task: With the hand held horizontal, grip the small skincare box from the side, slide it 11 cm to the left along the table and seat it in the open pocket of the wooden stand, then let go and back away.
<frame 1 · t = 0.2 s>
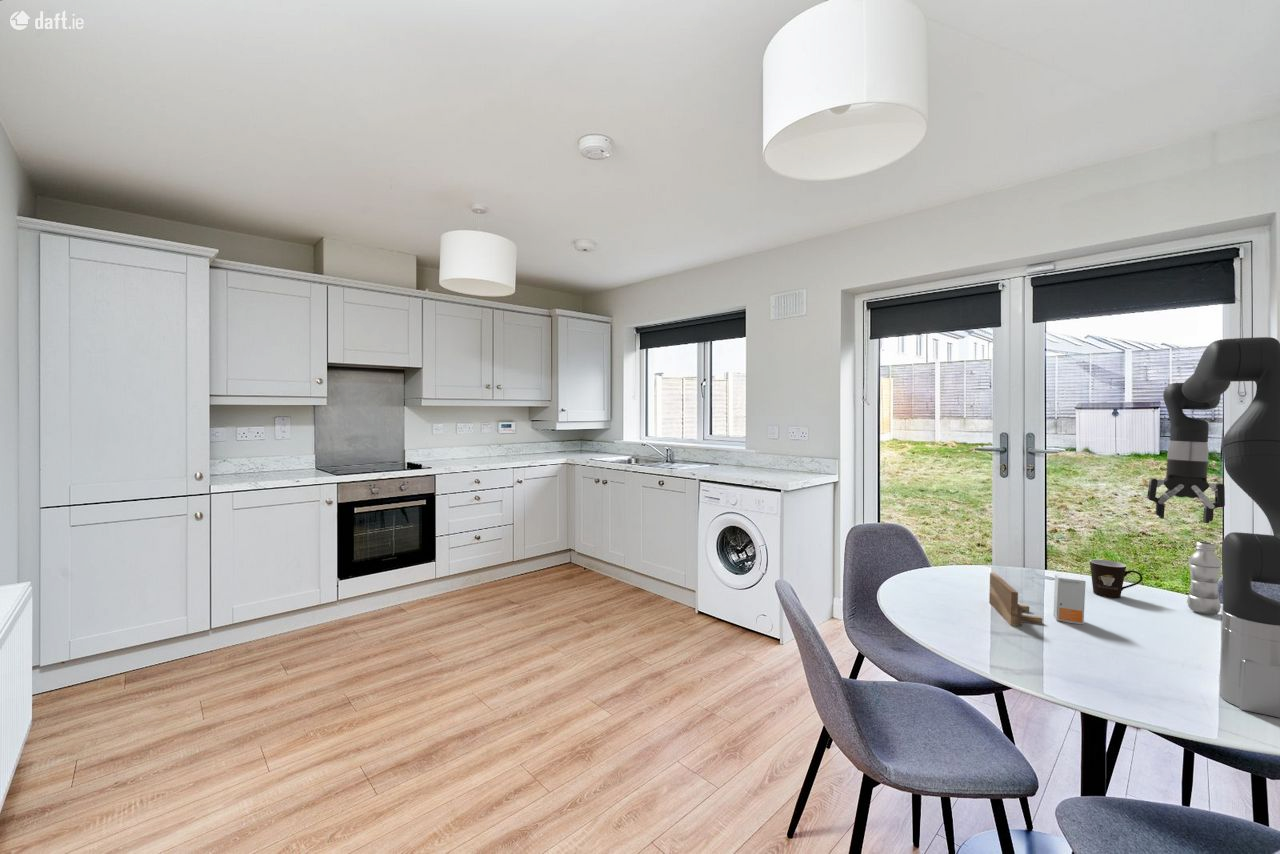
hand: (1183, 520, 143), 28 cm above the table, tool pointing down, fingers open, 8 cm apart
wooden stand: (1021, 615, 151), on the table
coffee mug: (1112, 597, 167), on the table
plastic bottle: (1203, 613, 154), on the table
skincare box: (1068, 621, 148), on the table
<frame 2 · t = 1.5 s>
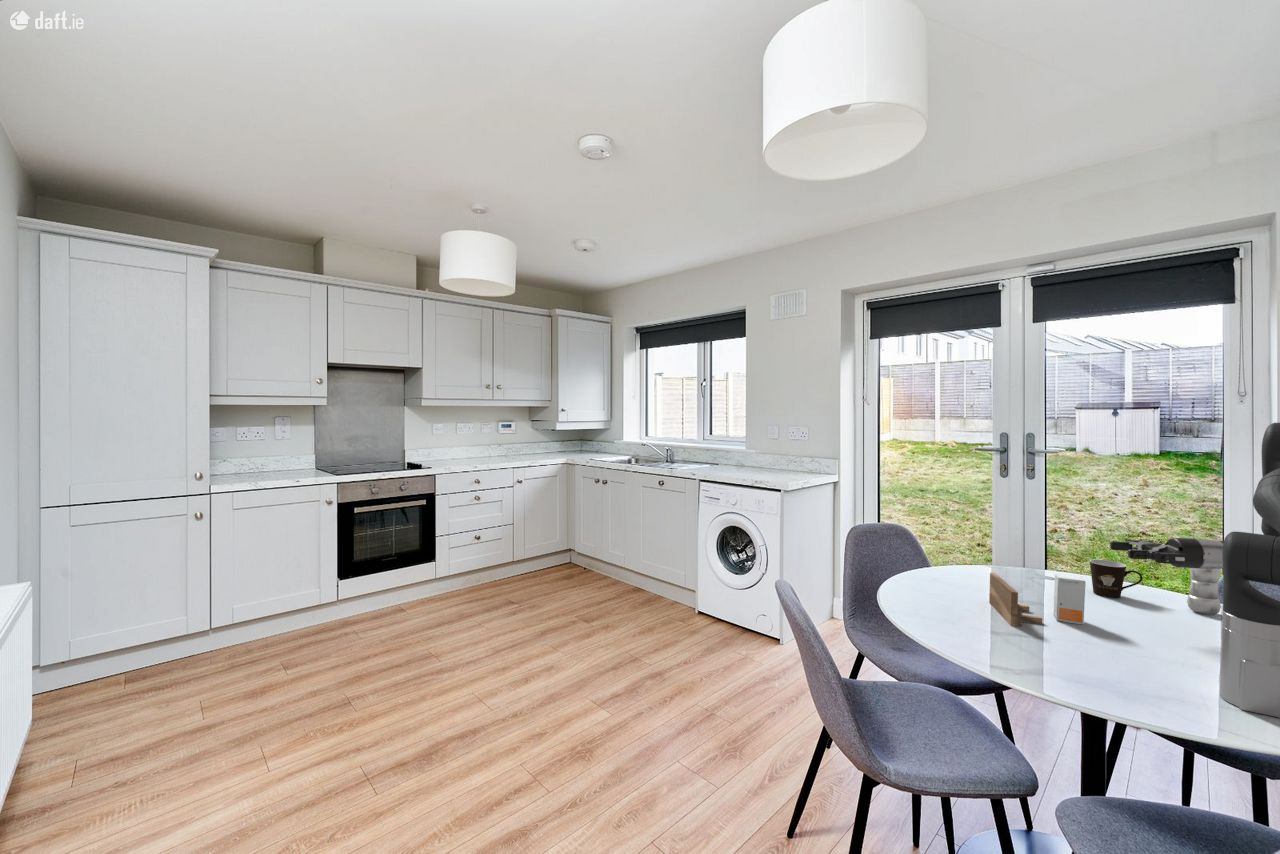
hand: (1119, 549, 144), 20 cm above the table, tool horizontal, fingers open, 8 cm apart
nothing on the table moved.
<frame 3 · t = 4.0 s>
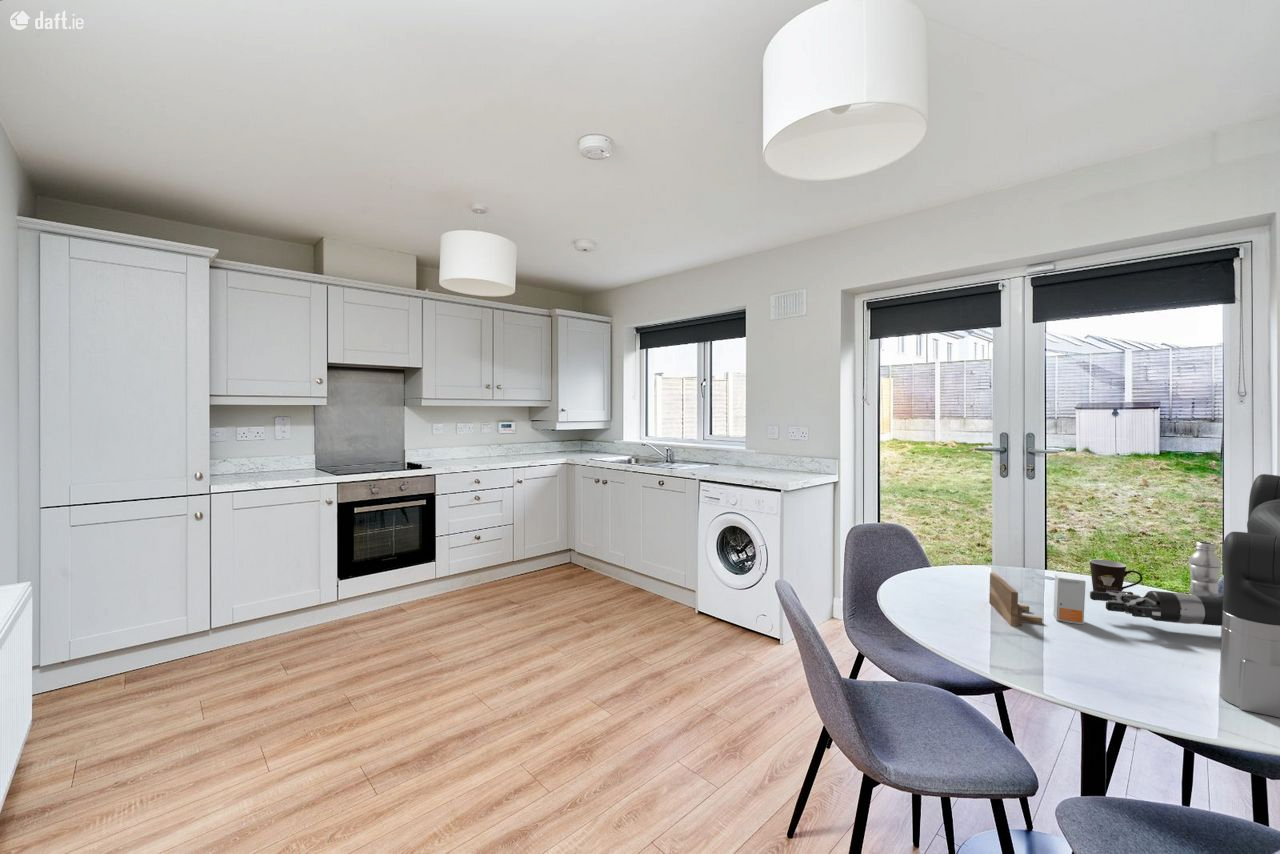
hand: (1098, 600, 146), 6 cm above the table, tool horizontal, fingers open, 8 cm apart
nothing on the table moved.
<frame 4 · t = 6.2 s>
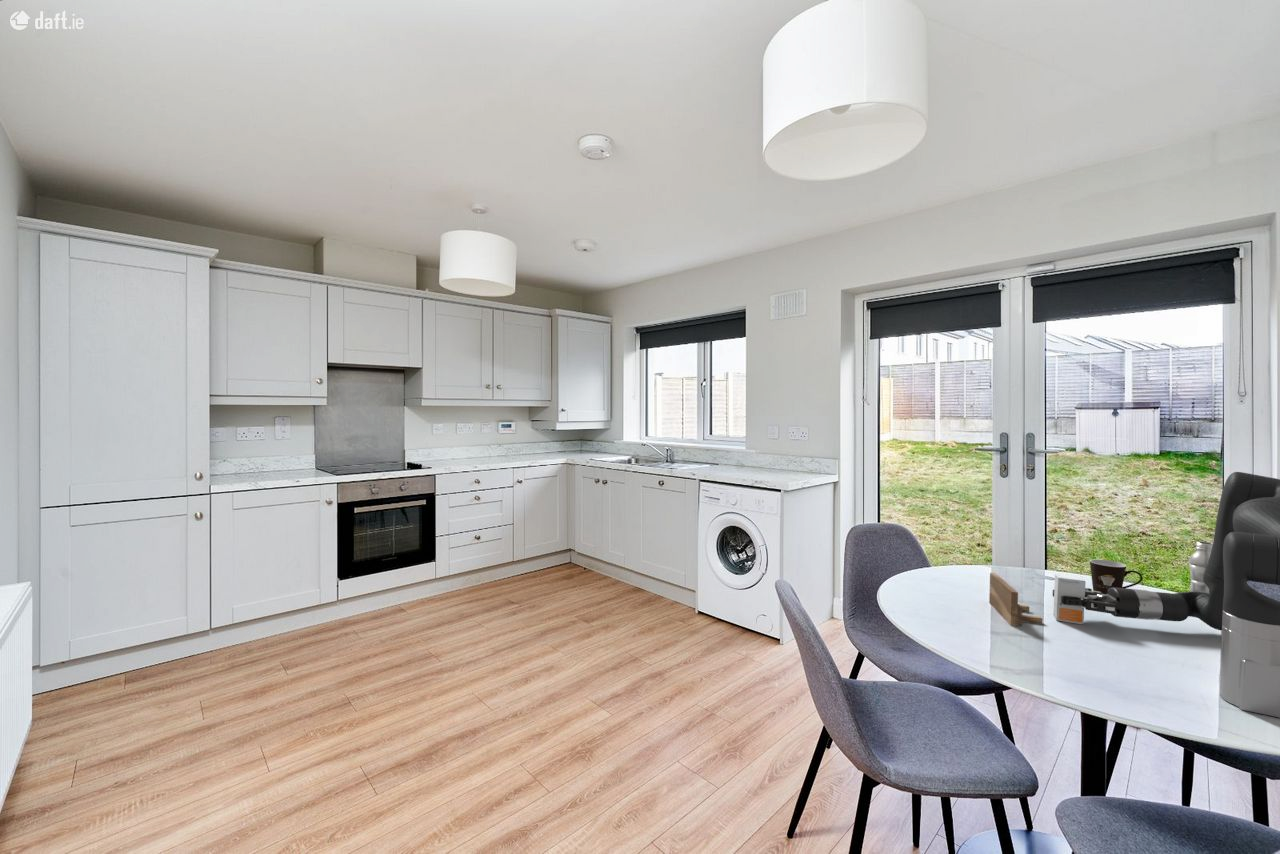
hand: (1057, 596, 148), 6 cm above the table, tool horizontal, fingers closed on skincare box, 5 cm apart
skincare box: (1068, 621, 148), on the table, touching gripper
everything else where it was.
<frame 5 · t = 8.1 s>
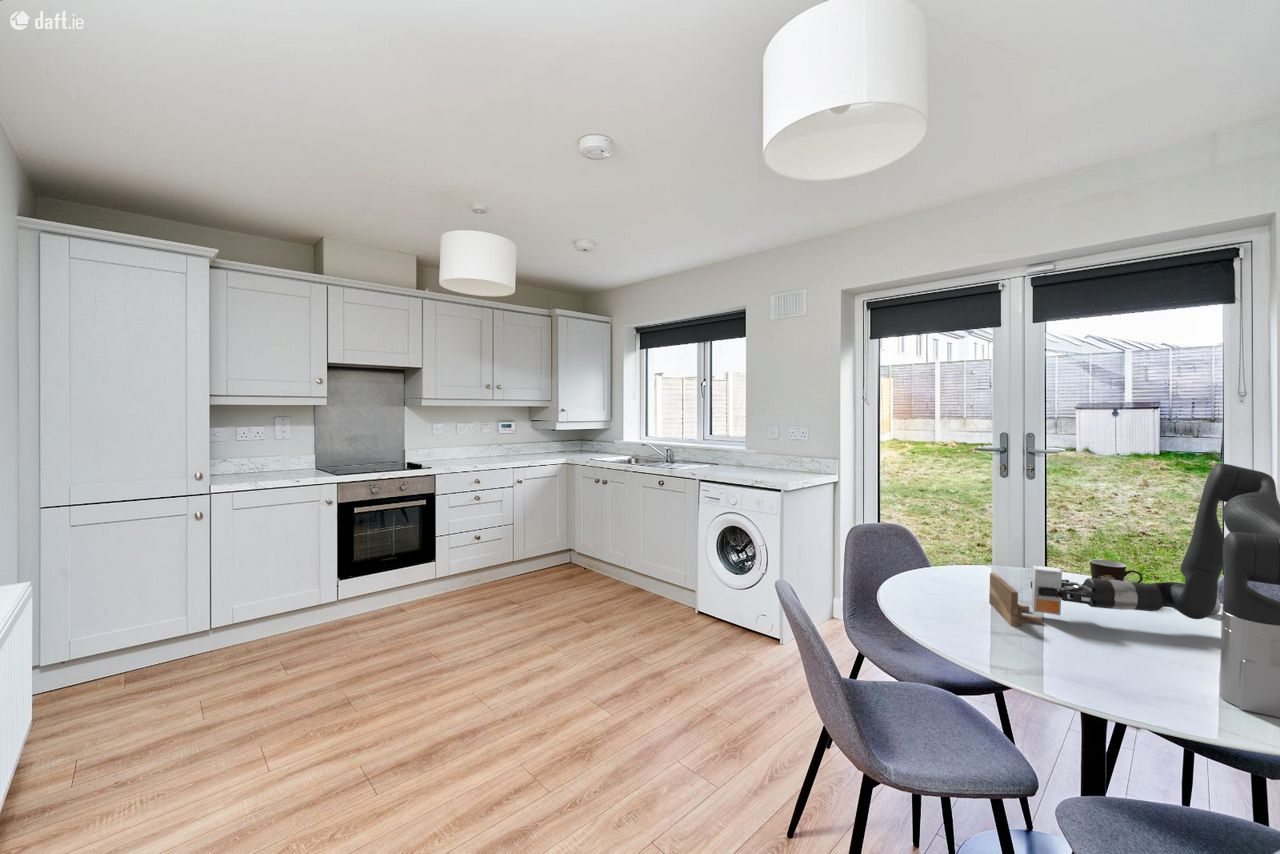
hand: (1035, 588, 150), 8 cm above the table, tool horizontal, fingers closed on skincare box, 5 cm apart
skincare box: (1046, 612, 149), point 2 cm above the table, touching gripper
everything else where it was.
when the fingers open (7 cm above the table, at t = 9.9 s): skincare box stays where it is, on the table.
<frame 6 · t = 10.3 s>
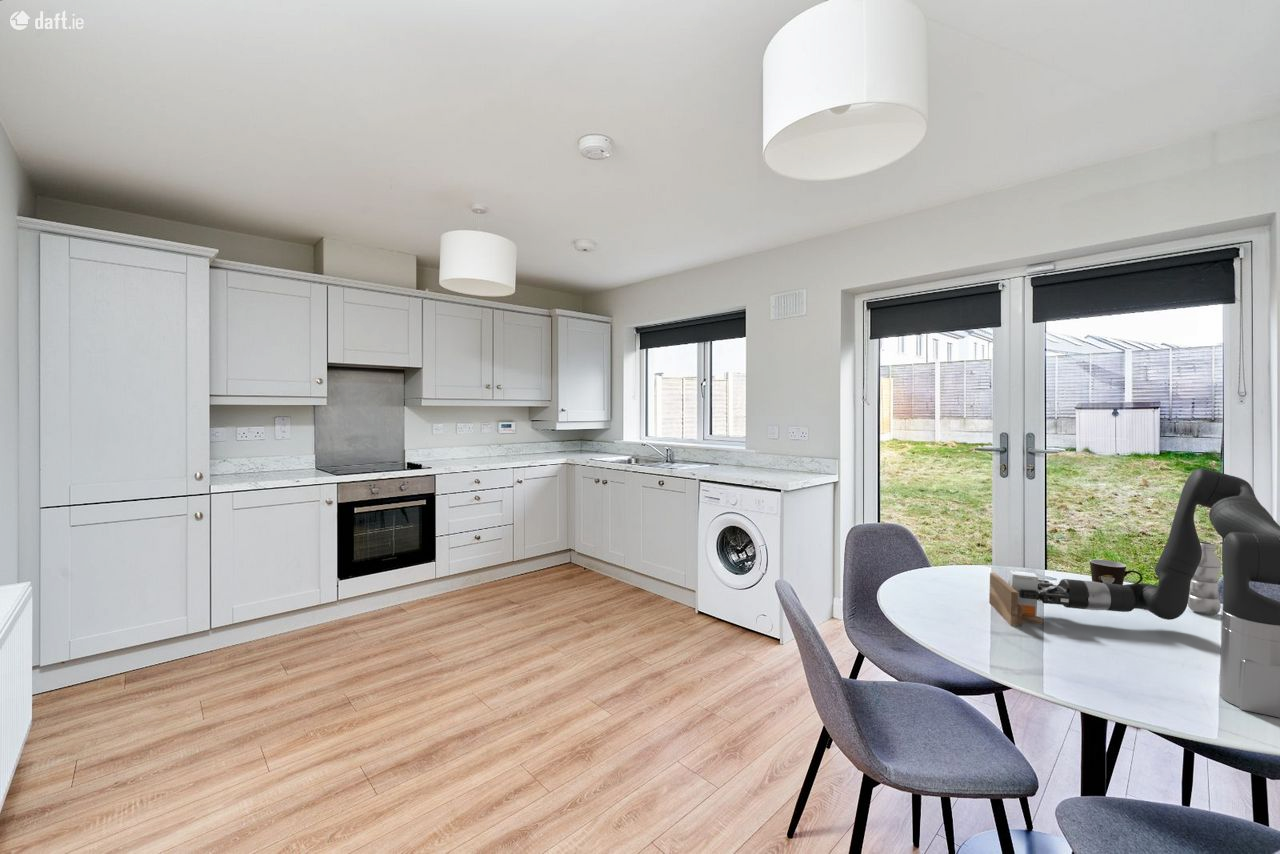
hand: (1014, 588, 151), 7 cm above the table, tool horizontal, fingers open, 8 cm apart
skincare box: (1022, 616, 151), on the table
everything else where it was.
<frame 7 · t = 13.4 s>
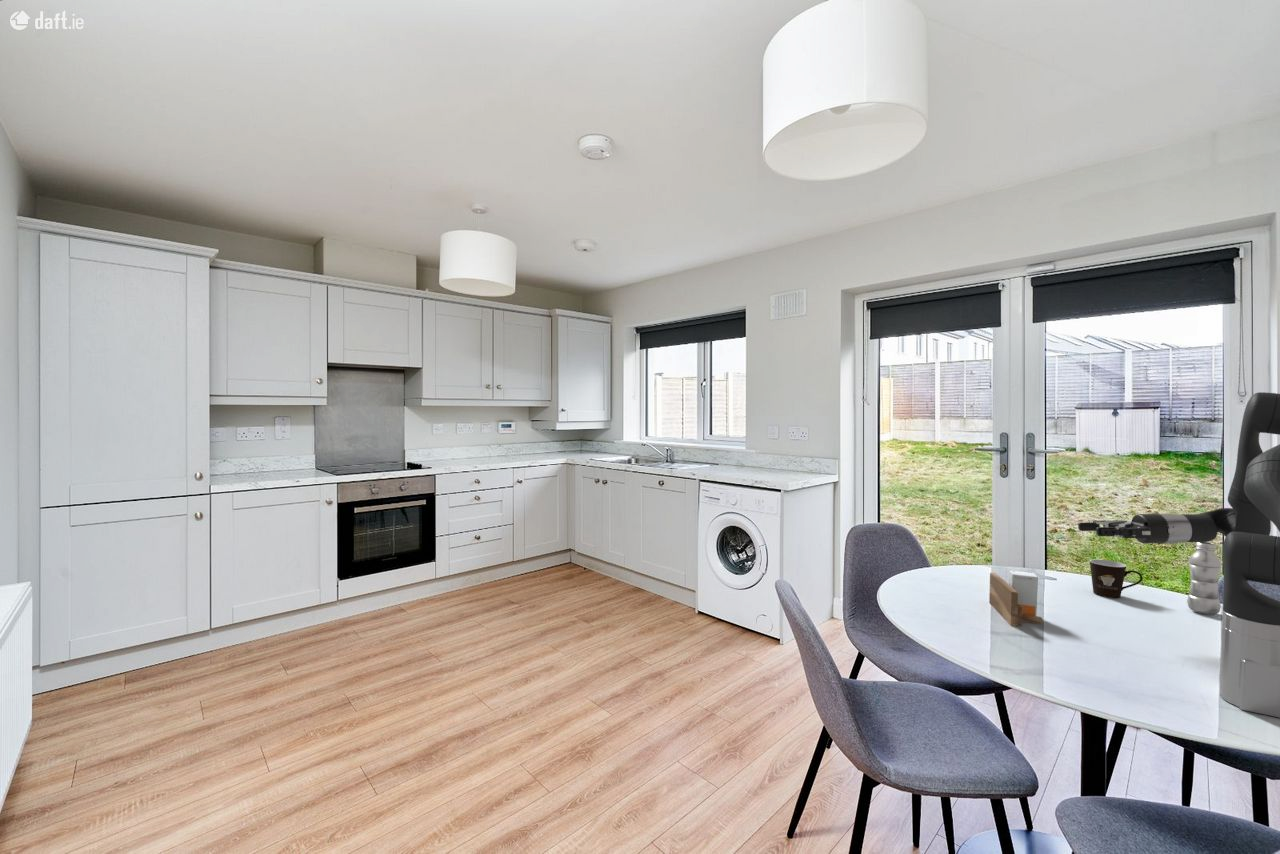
hand: (1087, 529, 144), 26 cm above the table, tool horizontal, fingers open, 8 cm apart
nothing on the table moved.
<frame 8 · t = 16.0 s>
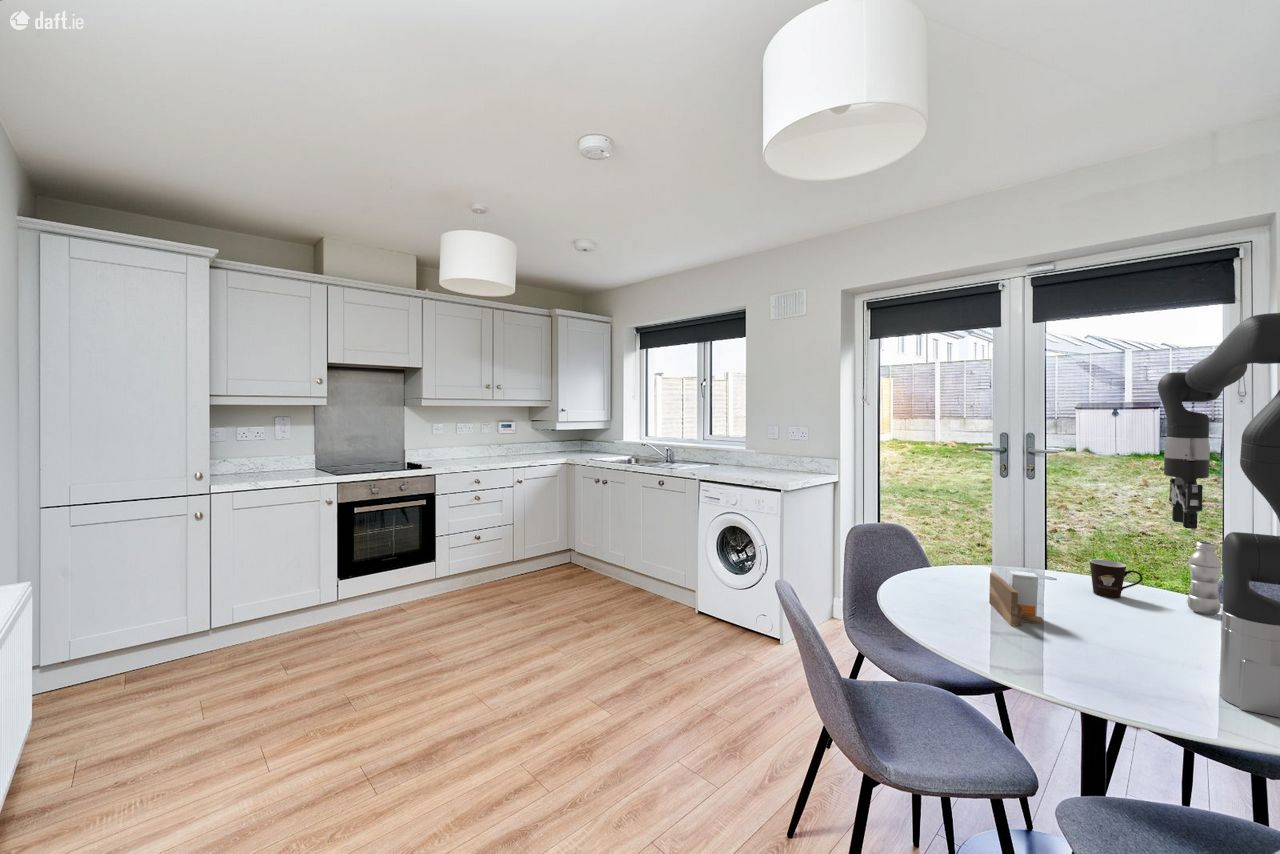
hand: (1184, 525, 128), 30 cm above the table, tool pointing down, fingers open, 8 cm apart
nothing on the table moved.
at the end: skincare box 0.2 cm from the wooden stand (horizontally); skincare box tilted 0°; the gripper is holding nothing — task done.
